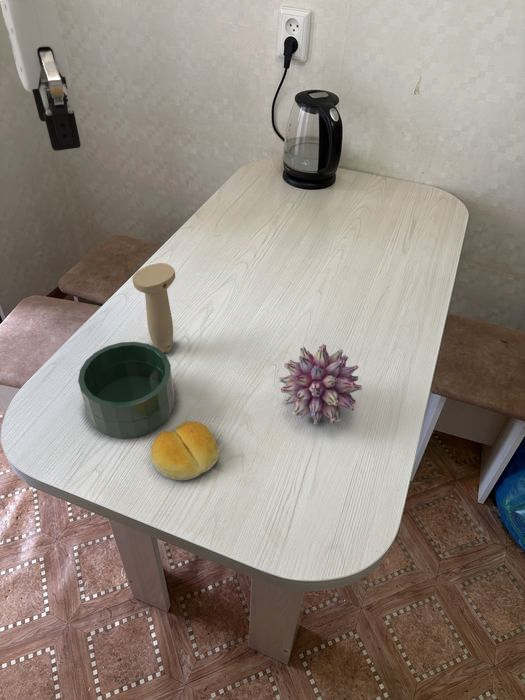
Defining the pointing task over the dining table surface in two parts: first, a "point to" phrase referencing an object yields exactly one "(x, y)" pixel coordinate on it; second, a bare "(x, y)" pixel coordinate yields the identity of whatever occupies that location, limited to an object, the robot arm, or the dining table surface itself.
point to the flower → (320, 384)
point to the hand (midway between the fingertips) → (59, 133)
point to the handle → (157, 302)
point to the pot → (127, 389)
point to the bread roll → (185, 451)
